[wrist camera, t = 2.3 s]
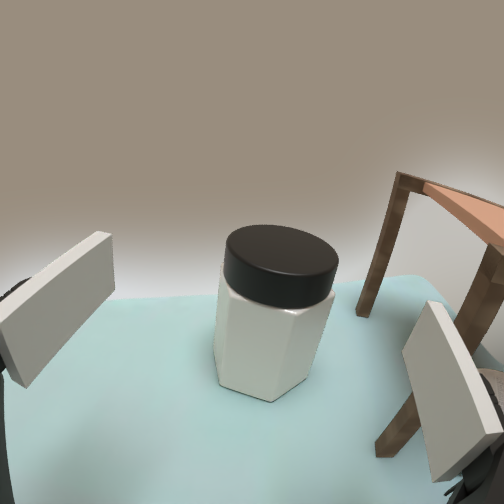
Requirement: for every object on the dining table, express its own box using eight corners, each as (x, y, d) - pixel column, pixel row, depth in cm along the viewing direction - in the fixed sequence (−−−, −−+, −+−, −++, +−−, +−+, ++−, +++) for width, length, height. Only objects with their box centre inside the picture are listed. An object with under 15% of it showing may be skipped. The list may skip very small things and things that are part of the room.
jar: (313, 350, 30) (347, 240, 25) (297, 412, 23) (342, 289, 18) (229, 325, 32) (243, 215, 27) (194, 378, 25) (200, 251, 20)
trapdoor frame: (481, 328, 36) (529, 217, 29) (537, 439, 17) (633, 300, 10) (355, 308, 38) (396, 171, 30) (376, 457, 19) (502, 254, 12)
